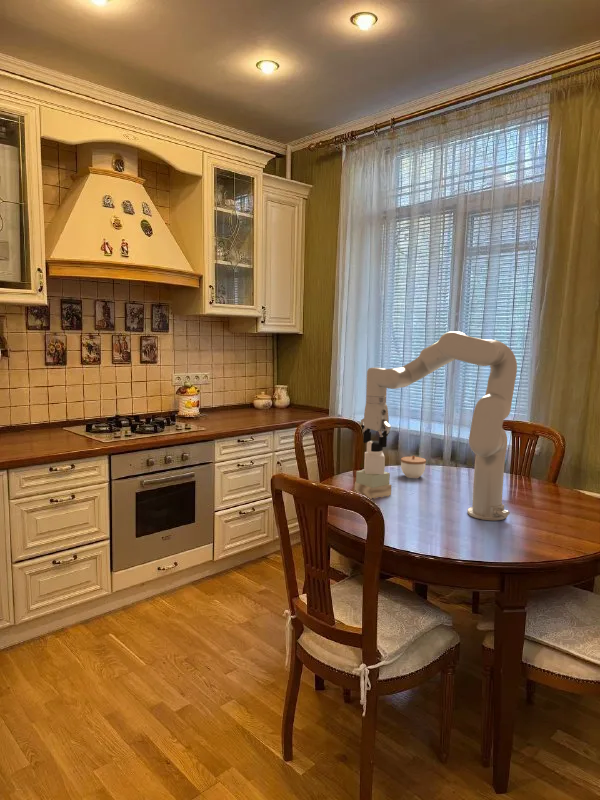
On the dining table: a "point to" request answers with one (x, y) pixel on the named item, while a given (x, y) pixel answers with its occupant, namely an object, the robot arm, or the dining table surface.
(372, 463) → the medicine bottle
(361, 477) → the tower top block
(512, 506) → the dining table surface
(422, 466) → the lidded jar
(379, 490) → the tower bottom block
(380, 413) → the robot arm
